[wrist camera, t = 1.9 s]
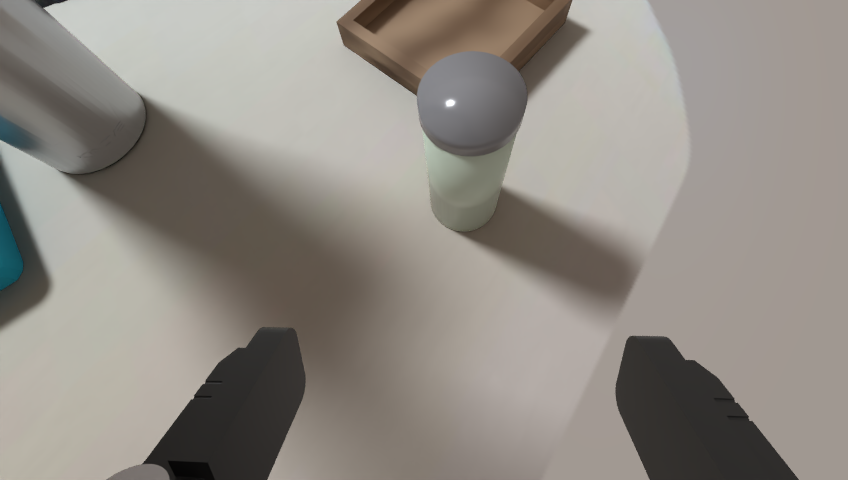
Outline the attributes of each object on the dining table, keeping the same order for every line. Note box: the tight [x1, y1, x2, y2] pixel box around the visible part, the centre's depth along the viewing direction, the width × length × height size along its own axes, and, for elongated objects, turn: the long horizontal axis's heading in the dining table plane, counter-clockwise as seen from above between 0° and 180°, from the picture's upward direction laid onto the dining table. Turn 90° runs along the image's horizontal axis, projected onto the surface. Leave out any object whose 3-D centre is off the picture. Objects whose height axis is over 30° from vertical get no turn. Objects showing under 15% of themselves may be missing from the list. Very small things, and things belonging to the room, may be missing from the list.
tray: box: [337, 0, 572, 95], centre depth 34 cm, size 14×14×2 cm
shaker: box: [417, 51, 527, 231], centre depth 25 cm, size 5×5×12 cm
